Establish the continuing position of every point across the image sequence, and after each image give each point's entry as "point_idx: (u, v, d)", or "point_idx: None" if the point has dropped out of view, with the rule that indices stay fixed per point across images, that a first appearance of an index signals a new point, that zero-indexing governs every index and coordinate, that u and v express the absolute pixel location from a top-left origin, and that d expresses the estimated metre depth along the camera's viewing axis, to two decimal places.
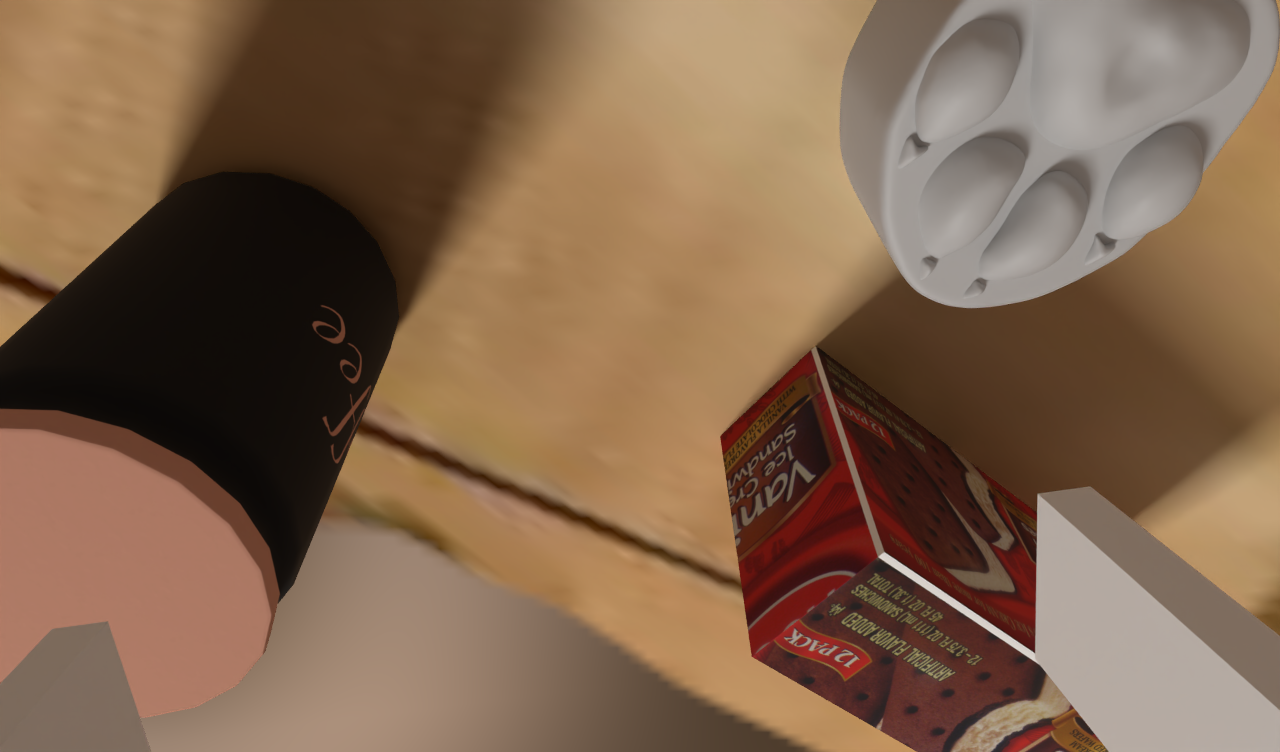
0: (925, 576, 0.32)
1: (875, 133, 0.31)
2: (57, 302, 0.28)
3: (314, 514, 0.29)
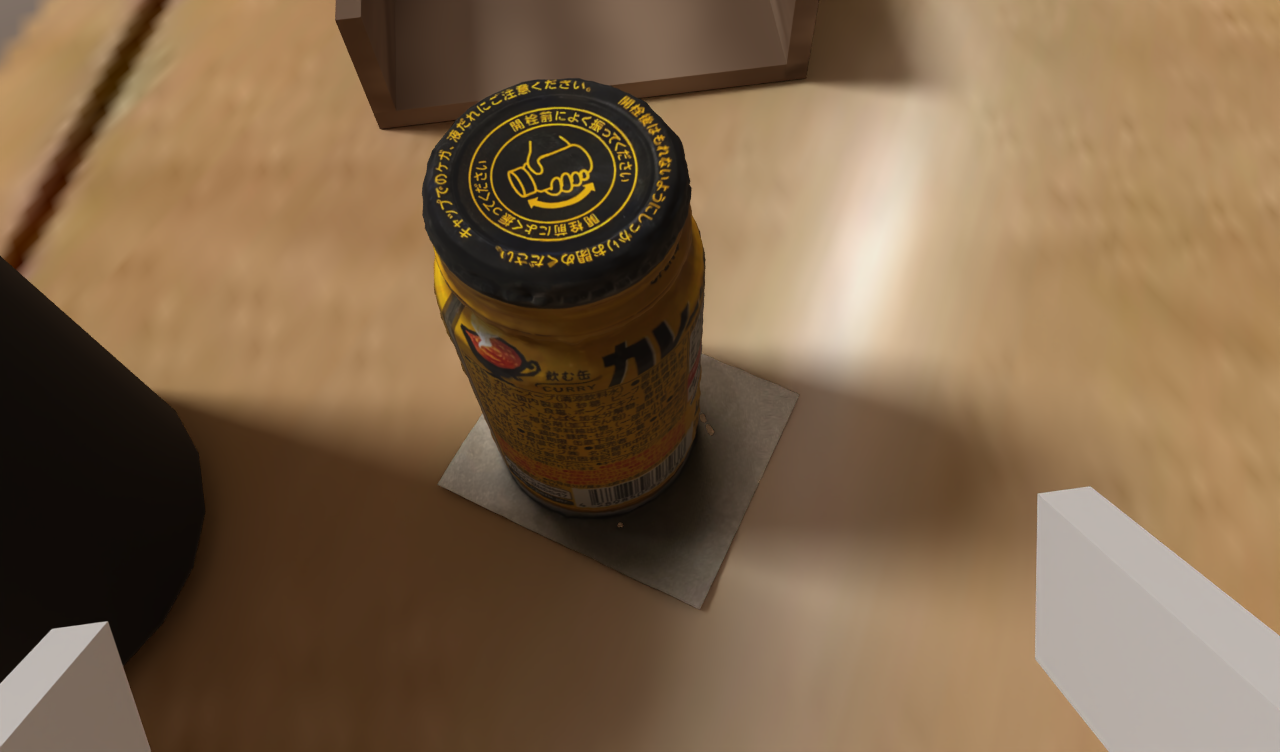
0: None
1: None
2: None
3: None
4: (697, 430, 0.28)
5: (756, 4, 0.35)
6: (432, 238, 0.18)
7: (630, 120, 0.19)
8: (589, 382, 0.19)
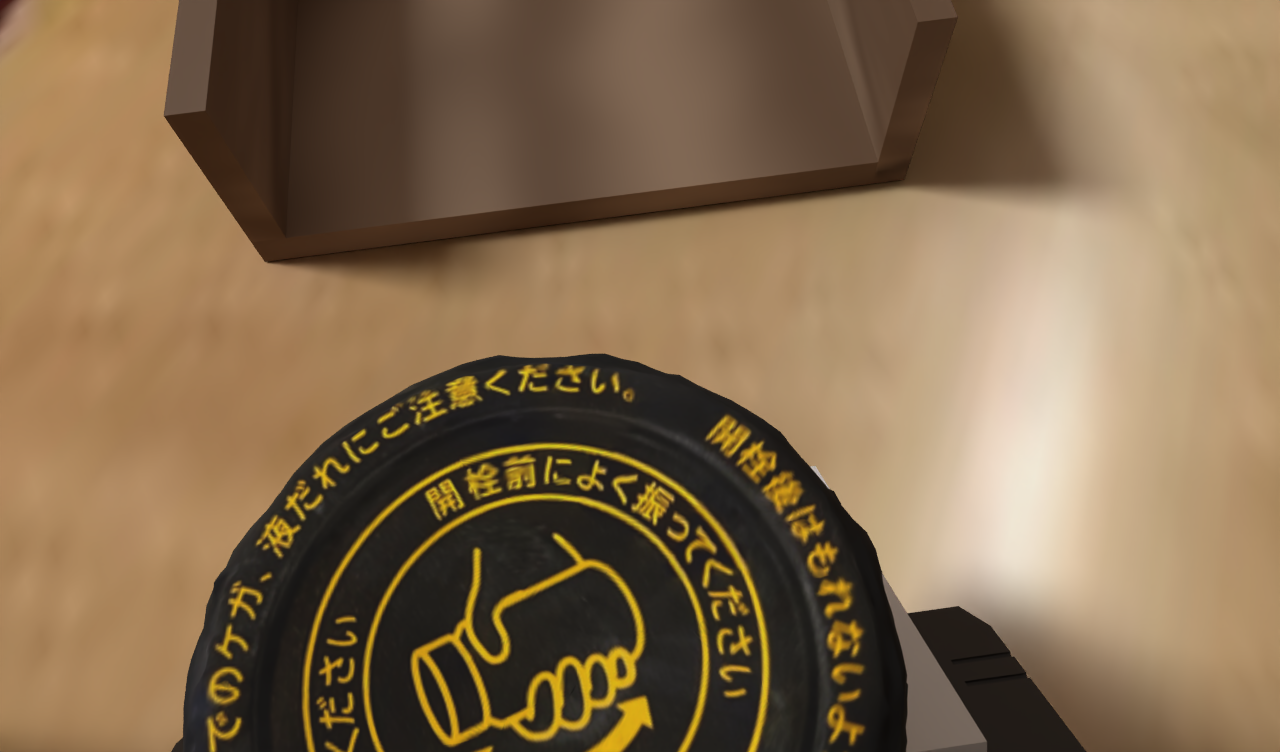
0: None
1: None
2: None
3: None
4: None
5: (827, 68, 0.24)
6: None
7: (741, 491, 0.07)
8: None
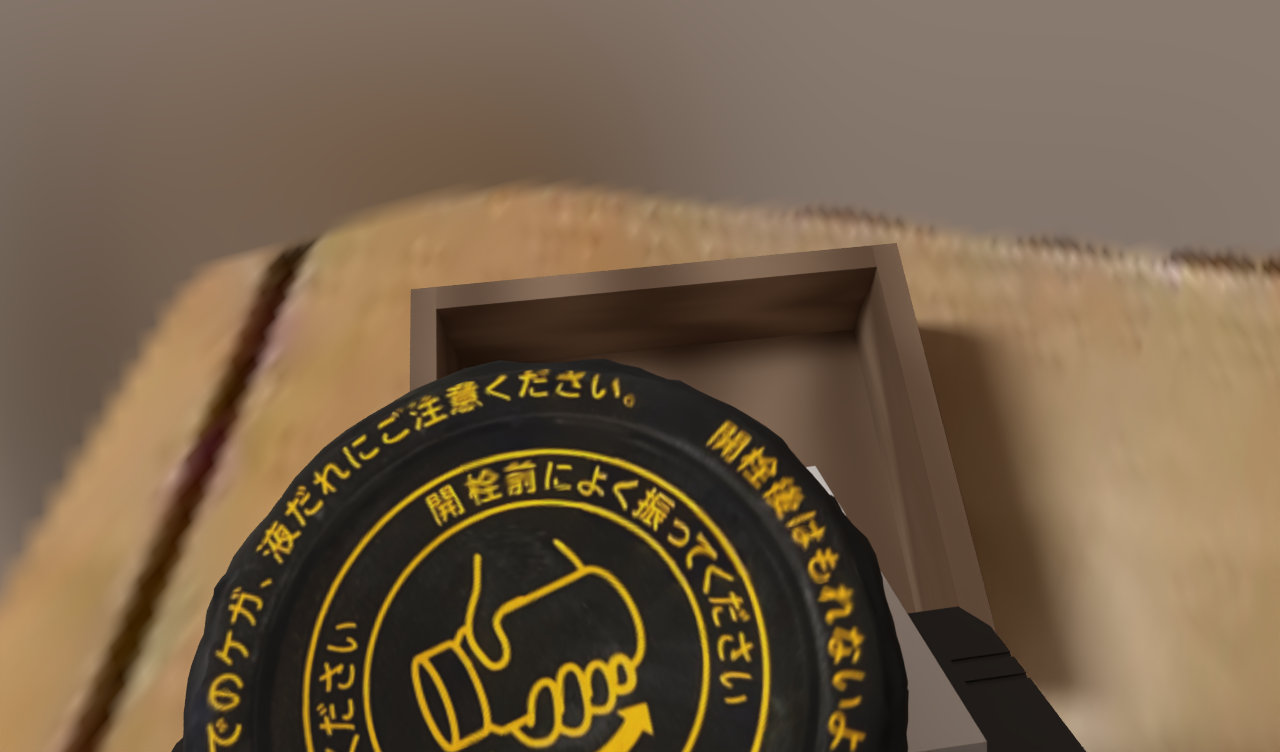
0: None
1: None
2: None
3: None
4: None
5: (891, 576, 0.30)
6: None
7: (742, 497, 0.07)
8: None
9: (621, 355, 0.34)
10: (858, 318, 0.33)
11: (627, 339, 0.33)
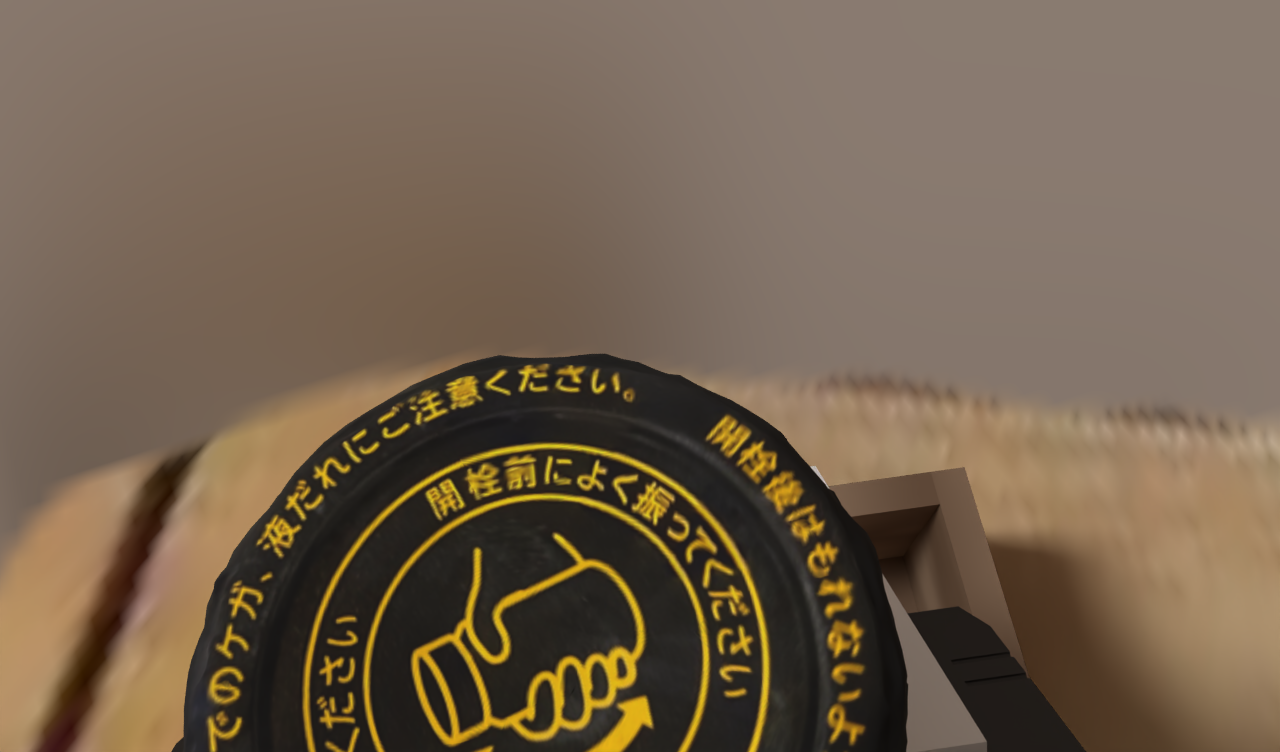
0: None
1: None
2: None
3: None
4: None
5: None
6: None
7: (741, 491, 0.07)
8: None
9: None
10: (911, 548, 0.25)
11: None
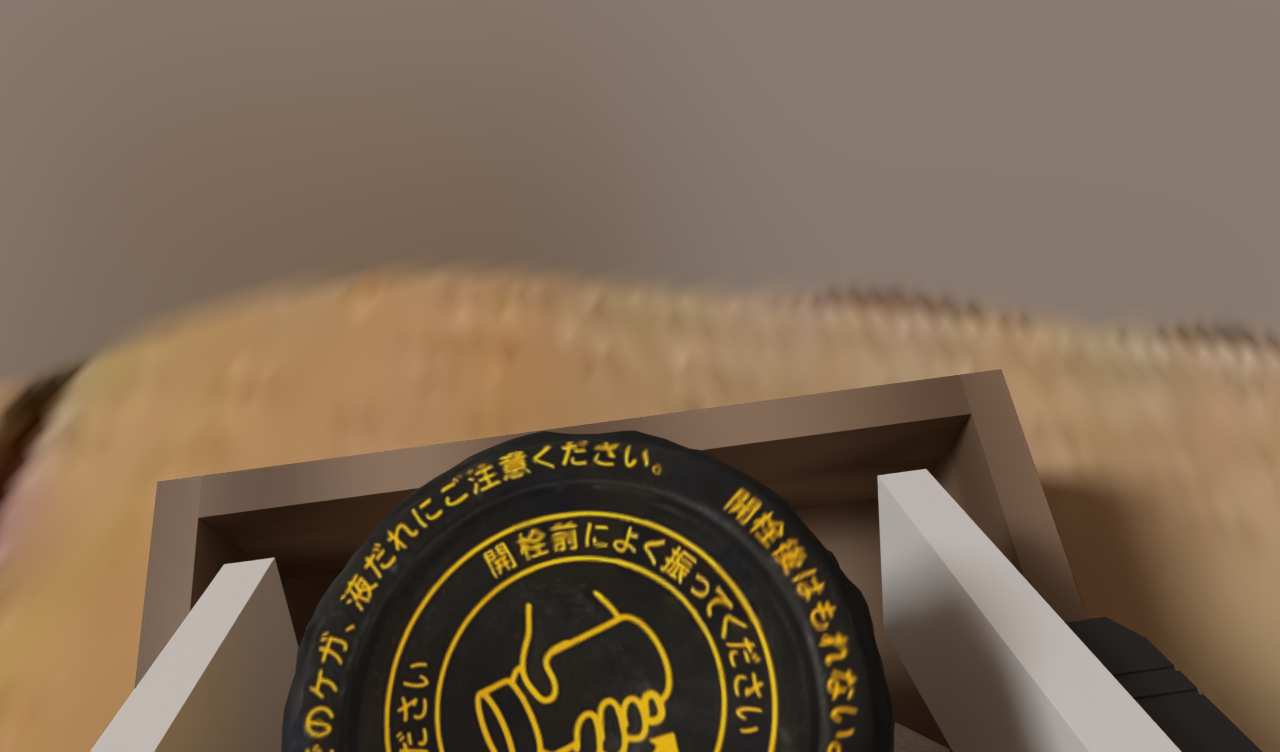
0: None
1: None
2: None
3: None
4: None
5: None
6: None
7: (753, 555, 0.08)
8: None
9: None
10: None
11: None
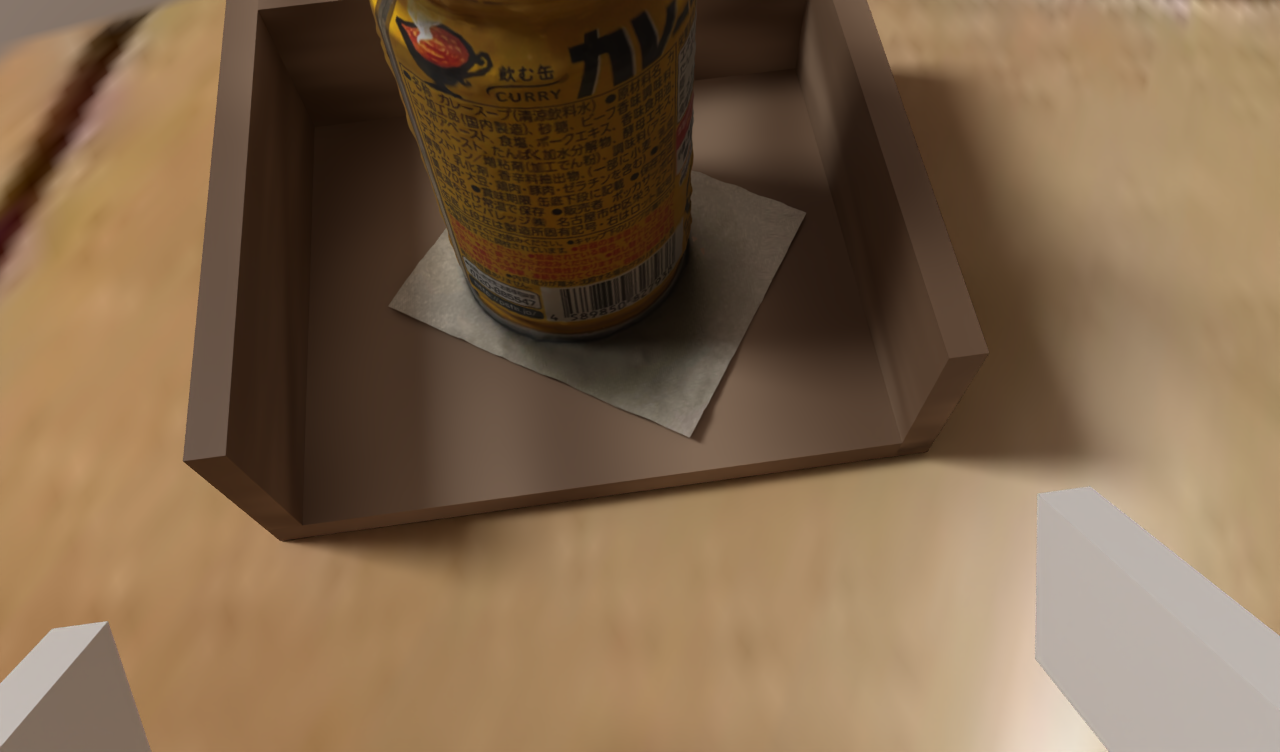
0: None
1: None
2: None
3: None
4: (689, 250, 0.25)
5: (848, 331, 0.24)
6: None
7: None
8: (554, 84, 0.16)
9: None
10: (799, 45, 0.27)
11: None
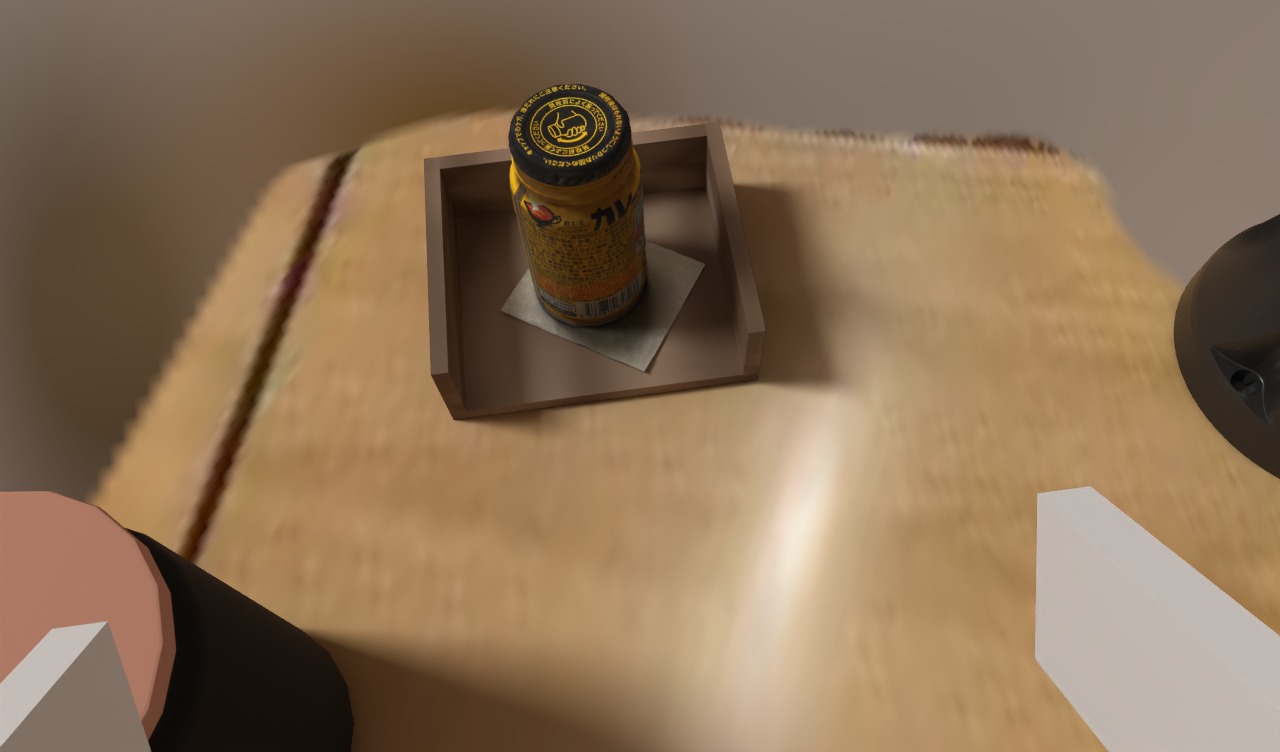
0: None
1: None
2: (238, 600, 0.33)
3: None
4: (646, 283, 0.50)
5: (722, 323, 0.49)
6: (514, 155, 0.40)
7: (604, 103, 0.40)
8: (584, 227, 0.41)
9: None
10: (705, 176, 0.52)
11: None
